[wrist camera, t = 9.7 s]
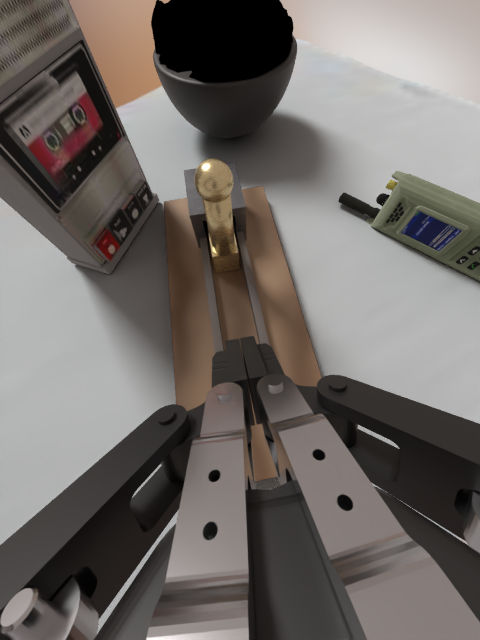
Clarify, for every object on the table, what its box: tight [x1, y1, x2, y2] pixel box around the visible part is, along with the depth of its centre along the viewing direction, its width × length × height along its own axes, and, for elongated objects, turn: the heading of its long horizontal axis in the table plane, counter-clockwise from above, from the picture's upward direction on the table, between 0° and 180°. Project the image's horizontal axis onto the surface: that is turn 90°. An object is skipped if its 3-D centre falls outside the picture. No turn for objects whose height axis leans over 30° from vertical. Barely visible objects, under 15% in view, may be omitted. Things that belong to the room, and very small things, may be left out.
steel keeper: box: [184, 163, 247, 248], centre depth 28 cm, size 6×7×5 cm
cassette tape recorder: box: [0, 0, 159, 275], centre depth 22 cm, size 14×6×25 cm, turn 161°
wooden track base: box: [164, 186, 322, 481], centre depth 26 cm, size 14×34×4 cm, turn 10°
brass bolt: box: [194, 158, 240, 273], centre depth 23 cm, size 3×8×12 cm, turn 10°
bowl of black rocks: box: [151, 0, 297, 138], centre depth 33 cm, size 20×20×19 cm
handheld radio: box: [339, 171, 480, 281], centre depth 27 cm, size 7×3×25 cm
